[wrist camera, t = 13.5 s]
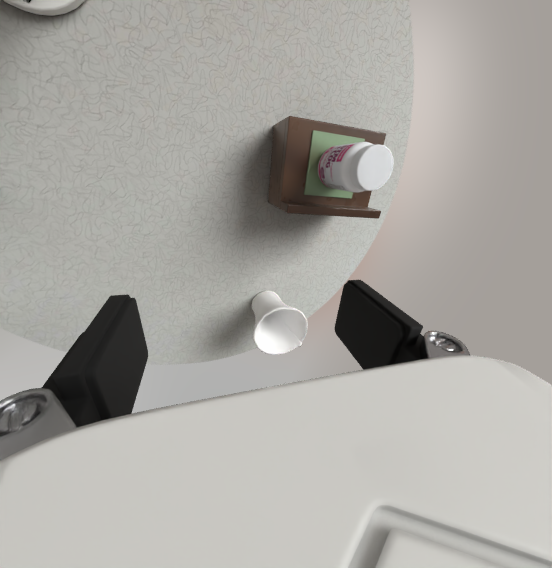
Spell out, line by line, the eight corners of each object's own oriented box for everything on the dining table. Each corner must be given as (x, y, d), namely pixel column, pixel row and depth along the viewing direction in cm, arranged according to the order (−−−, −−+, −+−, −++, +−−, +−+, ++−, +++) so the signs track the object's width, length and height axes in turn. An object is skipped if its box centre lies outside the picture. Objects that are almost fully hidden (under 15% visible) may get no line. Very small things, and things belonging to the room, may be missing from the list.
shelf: (273, 125, 32) (298, 109, 23) (355, 138, 35) (404, 130, 27) (267, 202, 36) (286, 213, 27) (341, 207, 40) (379, 218, 31)
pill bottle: (322, 141, 28) (363, 132, 20) (355, 150, 29) (405, 145, 22) (312, 184, 29) (346, 190, 22) (344, 191, 31) (386, 198, 24)
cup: (267, 329, 47) (281, 365, 38) (233, 304, 42) (240, 339, 34) (299, 299, 46) (321, 330, 37) (268, 270, 41) (284, 298, 33)
